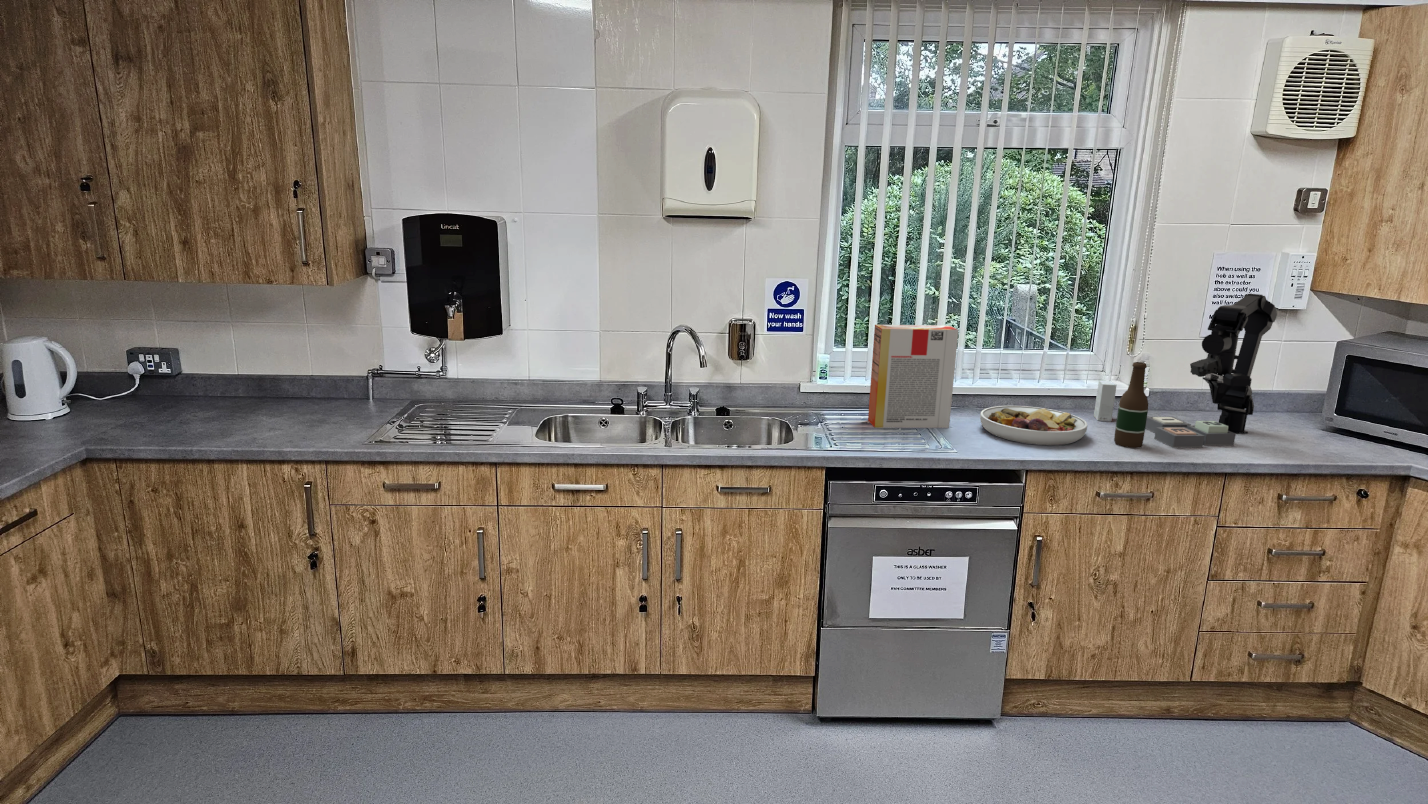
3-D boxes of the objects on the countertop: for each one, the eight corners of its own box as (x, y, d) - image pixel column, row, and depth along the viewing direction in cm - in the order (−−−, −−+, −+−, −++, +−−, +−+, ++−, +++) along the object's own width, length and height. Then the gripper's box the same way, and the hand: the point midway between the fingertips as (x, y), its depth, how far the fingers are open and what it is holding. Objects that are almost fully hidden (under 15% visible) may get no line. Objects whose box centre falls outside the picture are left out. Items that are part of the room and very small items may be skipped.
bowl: (975, 417, 273) (977, 393, 271) (1074, 425, 267) (1077, 400, 265) (983, 443, 244) (986, 417, 242) (1095, 452, 238) (1099, 425, 236)
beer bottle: (1107, 440, 249) (1119, 360, 244) (1133, 440, 250) (1145, 360, 244) (1122, 448, 242) (1134, 365, 236) (1148, 448, 243) (1161, 365, 237)
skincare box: (1111, 421, 271) (1117, 385, 268) (1097, 420, 271) (1102, 384, 268) (1107, 417, 276) (1112, 381, 273) (1093, 416, 277) (1098, 380, 274)
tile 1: (1170, 424, 263) (1171, 416, 263) (1182, 429, 258) (1183, 421, 257) (1151, 424, 263) (1152, 416, 262) (1163, 430, 257) (1164, 421, 256)
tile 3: (1182, 435, 251) (1183, 427, 251) (1195, 441, 246) (1196, 432, 245) (1162, 435, 251) (1164, 427, 250) (1175, 441, 245) (1176, 432, 244)
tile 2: (1213, 428, 254) (1214, 420, 253) (1227, 434, 248) (1228, 425, 248) (1194, 428, 253) (1195, 420, 253) (1207, 434, 248) (1209, 425, 247)
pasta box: (940, 420, 266) (949, 325, 259) (948, 427, 259) (958, 329, 251) (867, 420, 265) (874, 324, 257) (874, 427, 257) (881, 328, 250)
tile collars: (1192, 427, 266) (1193, 416, 265) (1238, 447, 246) (1240, 435, 245) (1131, 427, 264) (1132, 416, 263) (1172, 447, 244) (1174, 435, 243)
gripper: (1177, 344, 253) (1169, 395, 257) (1219, 356, 235) (1210, 411, 239) (1213, 345, 254) (1204, 395, 258) (1257, 357, 236) (1247, 411, 240)
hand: (1215, 403), depth 249 cm, fingers closed
